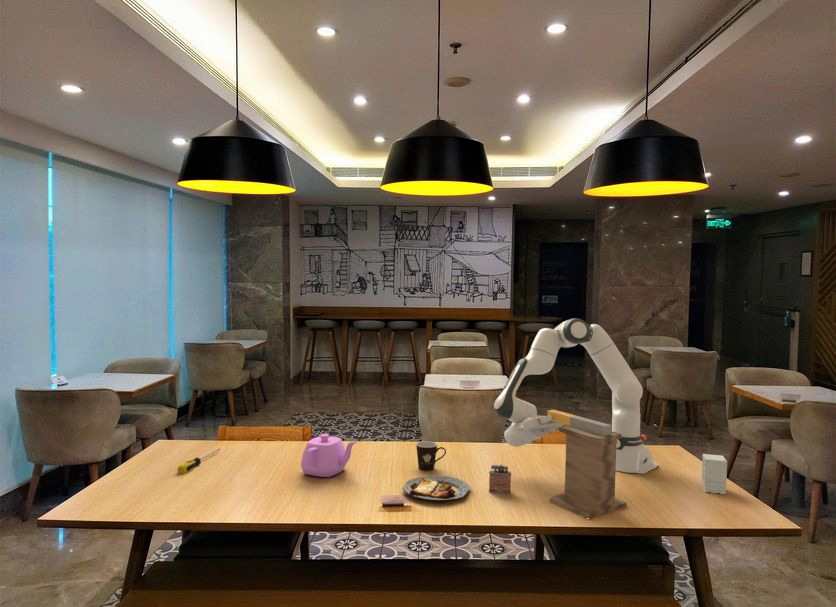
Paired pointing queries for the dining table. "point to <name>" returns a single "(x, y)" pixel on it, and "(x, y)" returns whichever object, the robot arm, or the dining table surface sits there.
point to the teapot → (325, 456)
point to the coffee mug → (427, 455)
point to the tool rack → (589, 473)
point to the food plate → (428, 488)
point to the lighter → (500, 480)
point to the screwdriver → (191, 464)
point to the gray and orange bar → (580, 423)
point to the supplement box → (714, 473)
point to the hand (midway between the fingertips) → (559, 415)
